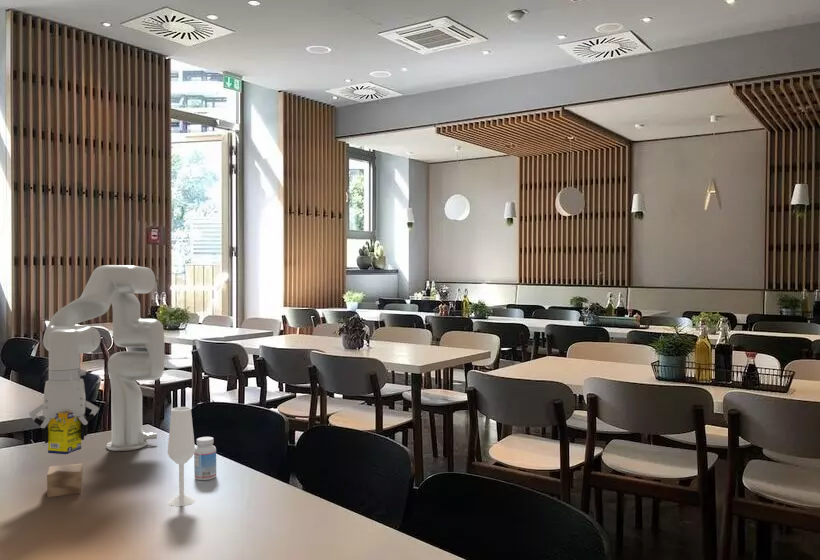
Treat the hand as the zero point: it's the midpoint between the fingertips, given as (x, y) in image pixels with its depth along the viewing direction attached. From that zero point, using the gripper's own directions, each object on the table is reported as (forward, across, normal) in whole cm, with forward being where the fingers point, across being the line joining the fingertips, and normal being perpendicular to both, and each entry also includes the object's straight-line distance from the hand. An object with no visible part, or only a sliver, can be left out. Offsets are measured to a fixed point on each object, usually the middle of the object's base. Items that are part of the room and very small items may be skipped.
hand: (64, 440), depth 185 cm
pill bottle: (+14, -36, +3) cm, 39 cm away
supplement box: (+3, 0, 0) cm, 3 cm away
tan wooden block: (+14, 0, 0) cm, 14 cm away
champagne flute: (+14, -28, +21) cm, 38 cm away
